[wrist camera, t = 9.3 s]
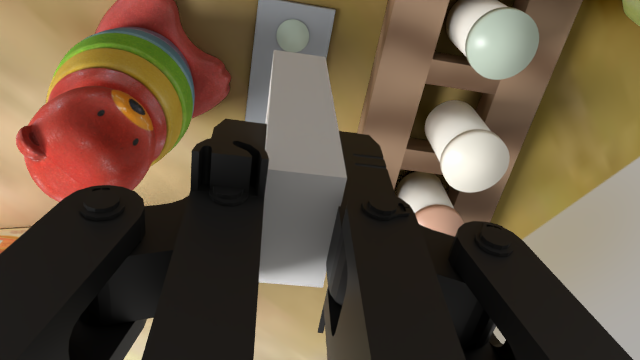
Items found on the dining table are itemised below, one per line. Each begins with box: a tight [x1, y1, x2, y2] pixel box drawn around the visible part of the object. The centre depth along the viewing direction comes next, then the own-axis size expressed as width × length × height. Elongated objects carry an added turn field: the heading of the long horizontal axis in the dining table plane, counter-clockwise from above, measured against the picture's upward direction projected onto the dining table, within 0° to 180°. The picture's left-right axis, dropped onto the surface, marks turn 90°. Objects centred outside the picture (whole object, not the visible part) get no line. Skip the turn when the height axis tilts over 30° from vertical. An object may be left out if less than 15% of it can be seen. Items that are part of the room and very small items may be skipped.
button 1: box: [396, 171, 464, 236], centre depth 46 cm, size 5×5×7 cm
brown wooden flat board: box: [357, 0, 583, 223], centre depth 44 cm, size 25×14×2 cm, turn 170°
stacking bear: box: [16, 0, 231, 202], centre depth 34 cm, size 11×10×18 cm
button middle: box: [425, 100, 509, 193], centre depth 40 cm, size 5×5×7 cm
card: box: [245, 0, 335, 124], centre depth 43 cm, size 14×6×1 cm, turn 170°
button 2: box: [446, 0, 539, 80], centre depth 38 cm, size 5×5×7 cm
